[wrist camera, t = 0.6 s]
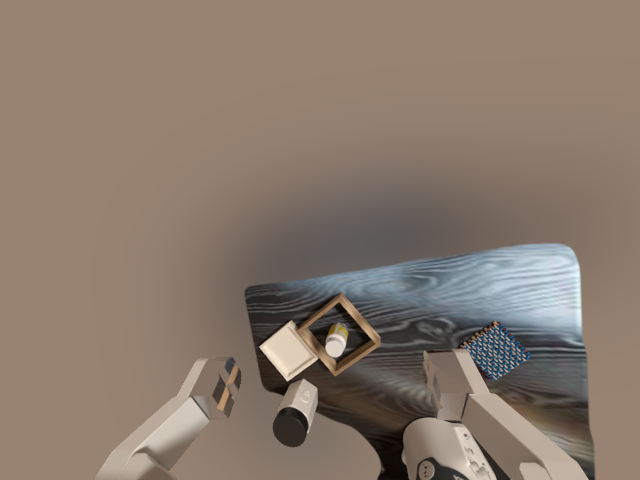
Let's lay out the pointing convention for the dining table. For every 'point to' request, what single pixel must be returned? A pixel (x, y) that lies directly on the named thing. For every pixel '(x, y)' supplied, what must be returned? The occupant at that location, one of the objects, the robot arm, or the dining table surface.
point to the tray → (288, 351)
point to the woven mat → (496, 351)
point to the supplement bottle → (336, 339)
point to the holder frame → (321, 351)
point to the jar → (295, 413)
